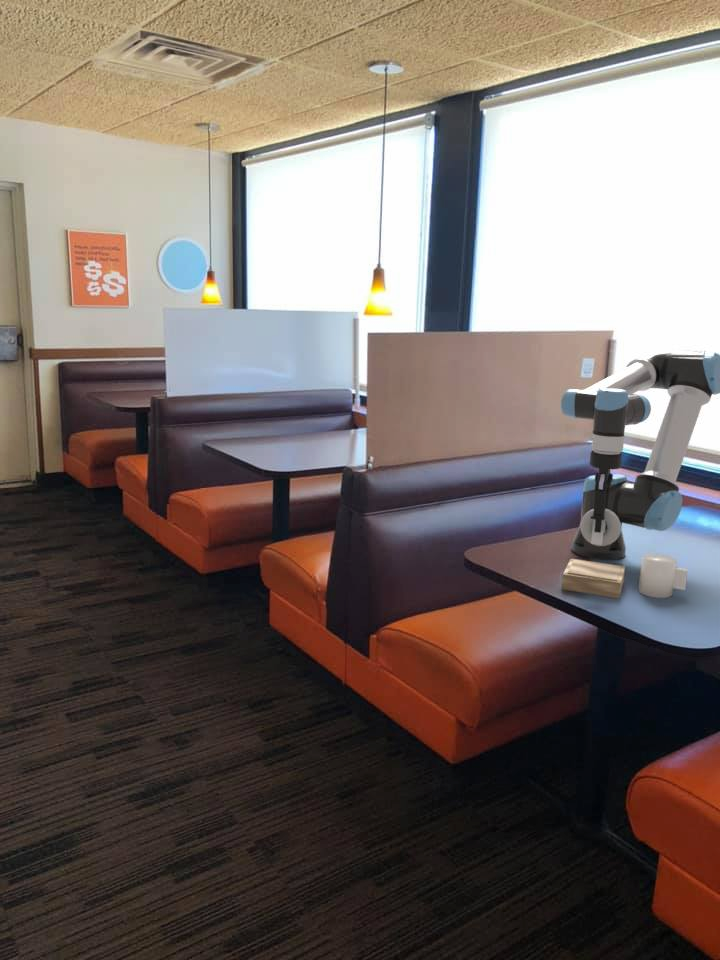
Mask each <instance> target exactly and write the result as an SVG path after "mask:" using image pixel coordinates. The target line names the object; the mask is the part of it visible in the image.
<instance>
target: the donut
mask: <svg viewBox="0 0 720 960" xmlns="http://www.w3.org/2000/svg"><path fill="white" fill-rule="evenodd" d="M593 513H594V509H592V510H590V511H588V512H587V513H586V514H585V515H584V516H583V518H582V520H581V519H580V521H581V523H579V526H580V527H581V532H582V535H583V537H584V538H585V539H586V540H587V541H588V542H590V543H591V538H592V528H593V519H591V516H593ZM604 517H605V523H606V524H607V530H606V532H604V533H603V543H602V545H598V544H593V545H596V546H606V545H610V544H611V543H613V542H614V541H616V540H617V538H618V537H619V535H620V532H621V523H620V521H619V518H618V517H617V516H616V514H615V513H613V512H612V511H610V510H609V509H605V515H604Z"/></svg>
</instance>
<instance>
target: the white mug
mask: <svg viewBox="0 0 720 960" xmlns="http://www.w3.org/2000/svg"><path fill="white" fill-rule="evenodd" d="M676 566H677V559H676V558H674V557H672V556H670V555H668V554H662V553H655V552H654V553H645V554H643V555H642V557H641V565H640V573H639V583H638V592H639V593H641V594H642V595H644V596H647V597H651V598H657V599H667V598H666V597H668V598H670V596H671V597H672V596H673V591H674V589H675V590H676V589H677V590H682V591H686V587H687V586H686V585H687V578H688V569H687V568H686V569H685V568H680V567H679V568H678V567H676Z"/></svg>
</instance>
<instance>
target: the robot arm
mask: <svg viewBox="0 0 720 960" xmlns="http://www.w3.org/2000/svg"><path fill="white" fill-rule="evenodd" d="M650 389H662V390H667V393H668V395H669V397H670V398H669V402H668V405H667V407H666V410H665V413H664V417H663V419H662V422H661V424H660V427H659V430H658V434H657V436H656V439H655V441H654V444H653V447H652V450H651V453H650V456H649V459H648V461H647V463H646V466H645V469H644V471H643V472H641V473H639V474H637V475H636V478H635V480H634V482H628V478H627V476H626V475H623V474H619V473H618V474H616V473H615V474H613V473H612V472H611V470H618V469H621V467H622V460H623V459H622V458H623V454H622V452H623V450H624V443H625V429H626V426H630V425H633V426H634V425H638V424H640V423H642V422H645V421H646V420H647V419H648V418H649V416H650V415H651V410H652V405H651V402H650V400H649V399H648V398H647V397H645V395H642V394H635V393H637V392H644V391H648V390H650ZM719 394H720V354H719V353H717V352H712V351H706V350H703V351H702V350H701V351H700V350H699V351H698V350H683V349H682V350H680V349H670V348H669V349H661V350H657V351H653V352H649V353H647V354H644V355H641V356H638V357H636V358H635V359H633V360H631V361H629V363H628V364H627V365H626V367H625V368H623V369H621V370H619V371H617V372H615V373H613V374H612V375H609V376H607V377H606V378H604V379H601V380H600V381H598V382H596V383H594V384H592V385H590V386H588V387H585V388H584V389H577V388H576V389H572V388H570V389H567V390H566V391H565V392H564V393H563V395H562V396H561V400H560V410H561V412H562V414H563V415H564V416H566V417H569V418H574V419H579V420H580V419H581V420H587V421H588V420H589V421H593V426H592V427H593V428H592V436H590V437H589V441H592V442H591V446H590V448H591V450H592V451H590V454H589V465H590V467H592V468H595V469H596V468H597V469H598V472H596V474H595V475H589V476H588V477H585V480H584V484H583V489H582V501H581V510H580V523H581V520H582V518H583V516H584V515H585V514H586V513H587V512H588V511H590V510H592V509H594V513H593V516H591V519H593V528H592V538H591V543H590V542H588V541H587V540H586V539H585V538H584V537H583V535H582V532H581V527H580V525H579V526H578V528H577V531H576V533H575V534H574V537H573V540H572V543H571V551H573V553H575V554H577V555H579V556H582V557H585V558H590V559H595V560H596V559H597V560H607V561H608V560H618V559H622V558H624V557H625V556H626V550H627V548H626V543H625V538H624V534H623V530H622V529H623V528H622V527H623V524H626V525H631V526H635V527H639V528H643V529H646V530H651V531H652V530H653V531H660V532H662V531H663V532H665V531H667V530H669V529H670V528H671V527H673V526H674V524H675V523H676V521H677V520H678V518H679V516H680V514H681V511H682V507H683V506H682V504H683V497H682V494H681V492H680V486H679V485H678V483H677V478H678V475H679V473H680V470H681V467H682V465H683V461H684V458H685V455H686V453H687V450H688V447H689V444H690V441H691V438H692V435H693V433H694V429H695V426H696V424H697V421H698V418H699V415H700V413H701V409H702V408H703V407H702V406H704V405H707V404H709V403H710V401H711V398H712V395H719ZM605 509H609V510H610V511H612V512H613V513H615V514H616V516H617V517H618V518H619V521H620V523H621V532H620V535H619V537H618V538H617V540H616V541H614V542H613V543H611V544H610V545H606V546H596V545H593V544H598V545H602V543H603V533H604V532H606V530H607V524H606V523H605V517H604V515H605ZM580 523H579V524H580Z"/></svg>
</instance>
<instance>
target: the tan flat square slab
mask: <svg viewBox="0 0 720 960" xmlns="http://www.w3.org/2000/svg"><path fill="white" fill-rule="evenodd" d="M625 574H626V566H624V565H619V564H618V565H617V564H612V563H611V564H610V563H603V562H597V561H589V560H584V559H576V558H570V560H569V562H568V563H567V565H566V567H565V569H564V571H563V573H562V578H561V579H562V580H561V590H563V591H571V592H578V593H584V594H590V595H596V596H602V597H609V598H615V599H620V597H621V592H622V589H623V585H624V582H625Z"/></svg>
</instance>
